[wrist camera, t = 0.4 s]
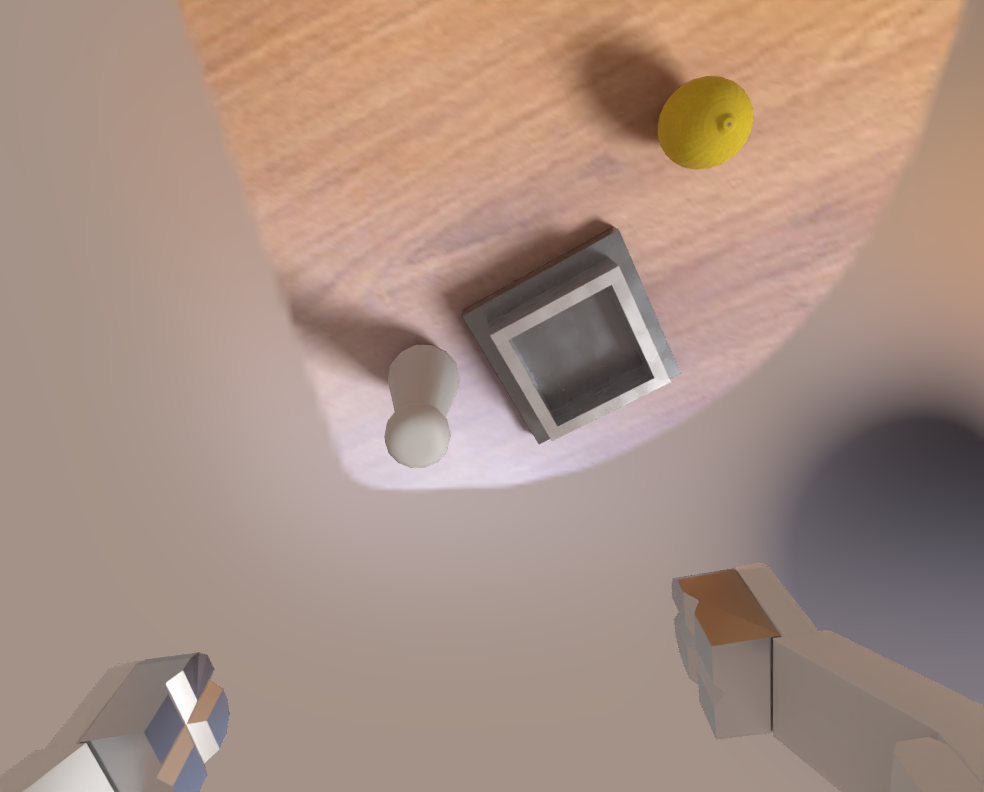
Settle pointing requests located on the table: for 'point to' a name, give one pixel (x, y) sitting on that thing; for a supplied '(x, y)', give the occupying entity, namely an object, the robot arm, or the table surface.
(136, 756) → the robot arm
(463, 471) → the table surface
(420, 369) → the salt shaker
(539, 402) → the socket block
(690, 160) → the lemon
